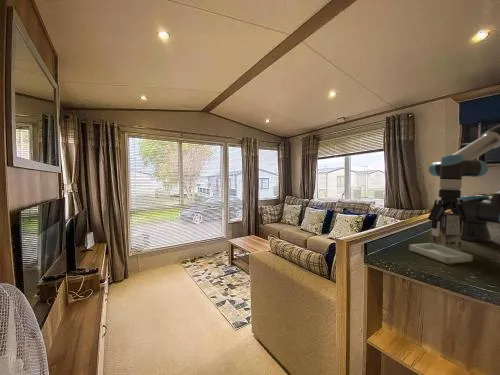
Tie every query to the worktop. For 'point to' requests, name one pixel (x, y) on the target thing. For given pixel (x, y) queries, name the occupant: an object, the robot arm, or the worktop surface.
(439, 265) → the worktop surface
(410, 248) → the tray
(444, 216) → the coffee box
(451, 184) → the robot arm
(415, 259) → the worktop surface
